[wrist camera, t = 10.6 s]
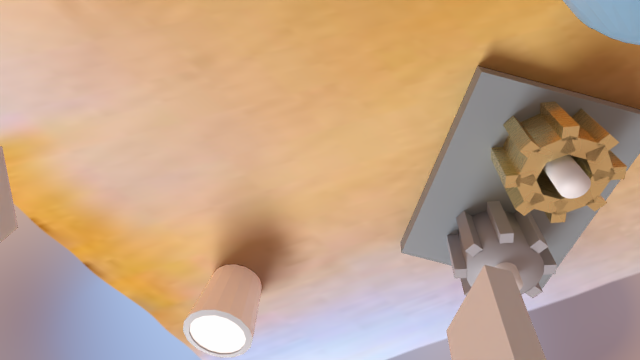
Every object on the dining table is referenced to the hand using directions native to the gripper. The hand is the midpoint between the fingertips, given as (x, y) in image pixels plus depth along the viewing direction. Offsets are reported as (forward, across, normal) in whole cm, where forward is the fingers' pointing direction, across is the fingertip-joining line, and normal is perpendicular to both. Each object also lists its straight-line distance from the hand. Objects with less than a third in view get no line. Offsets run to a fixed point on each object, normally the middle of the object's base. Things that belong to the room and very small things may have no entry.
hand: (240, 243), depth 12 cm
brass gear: (+23, +19, -4) cm, 30 cm away
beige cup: (+25, -4, -28) cm, 38 cm away
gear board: (+25, +19, -8) cm, 32 cm away
